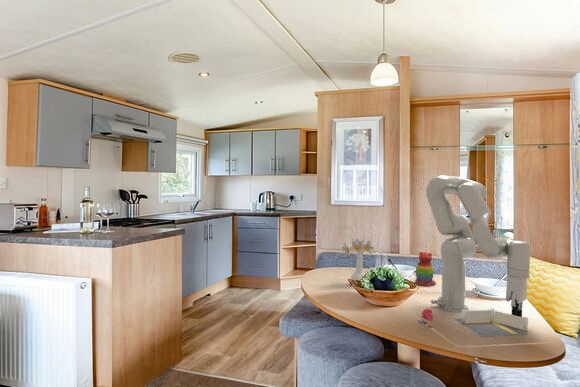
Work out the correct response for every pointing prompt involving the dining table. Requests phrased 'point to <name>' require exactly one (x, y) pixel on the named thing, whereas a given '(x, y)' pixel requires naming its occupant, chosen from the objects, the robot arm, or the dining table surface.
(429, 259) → the stacking bear
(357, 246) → the flower vase
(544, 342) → the dining table surface
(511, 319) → the fence gate
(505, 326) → the fence base
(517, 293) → the robot arm
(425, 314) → the toy pieces
